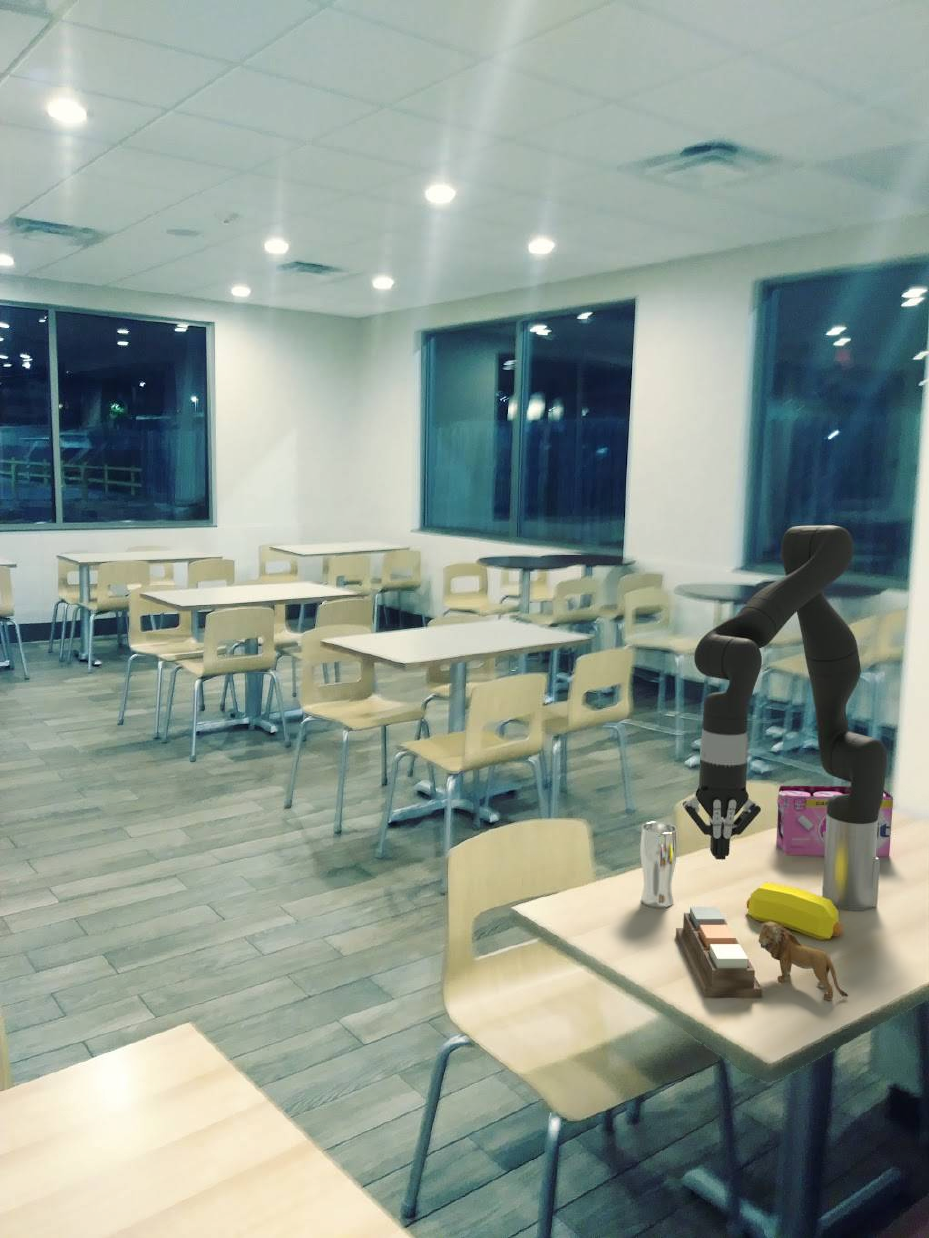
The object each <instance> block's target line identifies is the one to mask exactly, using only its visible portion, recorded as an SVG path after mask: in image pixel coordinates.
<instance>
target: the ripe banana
mask: <svg viewBox="0 0 929 1238" xmlns="http://www.w3.org/2000/svg"><path fill="white" fill-rule="evenodd" d="M746 908H747V914H748V915H749V916H750V917H751V918H753V919H754V920H756V921H758V920H759V921H758V922H761V923H767V922H774V923H778V924H779V925H781V926H782V927H784V928H787V929H790V930H792V931H796V932H798V933H801V934H803V935H806V936H809V937H812V938H815V939H816V940H817V939H818V940H821V941H824V940H829V939H831V938H832V937H839V936H841V933H842V932H843V926H842V924H841V923H840V922H839V920H840V919H839V910H838V909H837V907H835V906H834V904H833V903H832V902H831V900H829V899H826V898H824V897H822V895H821V896H820V895H818V894H815V893H812V892H809V891H807V890H804V889H801V888H798V887H793V886H789V885H782V884H778V883H777V884H776V883H773V882H768V881H766V882H765V883H763V884H762V885H761V886H760V887H758V888H756V889H755V890H753V892H751V893H750V897H749V898H748V899H747V901H746Z"/></svg>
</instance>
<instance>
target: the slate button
mask: <svg viewBox="0 0 929 1238" xmlns="http://www.w3.org/2000/svg"><path fill="white" fill-rule="evenodd" d="M689 913H690V919H691V921H692V923H693V925H694V927H695V928H700V925H724V919H725V918H724V916H723V914H722V912H721V911H720V910H719V907H718V906H690V907H689Z"/></svg>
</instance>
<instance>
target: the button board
mask: <svg viewBox="0 0 929 1238" xmlns="http://www.w3.org/2000/svg"><path fill="white" fill-rule="evenodd" d="M682 921H683V922H682V923H683V927H676V928H675V937H676V939H677V941H678V943H679V945H680V947H681V949H682V952H683V954H684V957H685V958H686V961H687V962H688V965H689V967H690V969H691V971H692V973H693V975H694V977H695V980H696V981H697V982H696V983H697V984H698V986H699V989H700V991H701V993H702V994H703V998H705V999H709V998H710V999H712V998H713V999H714V998H715V999H716V998H719V999H722V998H723V999H724V998H725V999H727V998H731V999H734V998H735V999H736V998H741V999H742V998H746V999H748V998H749V999H752V998H762V997H763V995H762V994H763V988H762V987H761V984H760V982H759V981H758V979H757V977H756V976H755V974H756V973H755V972H756V970H755V968H754V967H753V965H752V963H751V961H750V959H748V968H715V966H714V964H713V962H712V960H711V958H710V947H705V946H704V945H703V943H702V941H701V939H700V937H699V930H700V928H695V927H694V925H693V923H692V921H691V919H690V912H683V919H682ZM724 925H728V926H729V924H728V923H727V921H726V920H725V918H724ZM735 944H740V943H739V941H738V939H737V938H736V941H735Z"/></svg>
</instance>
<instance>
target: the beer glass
mask: <svg viewBox="0 0 929 1238" xmlns="http://www.w3.org/2000/svg"><path fill="white" fill-rule="evenodd" d="M640 835H641V836H640V845H639V847H640V848H639V849H640V851H639V852H640V853H639V855H640V862H641V868H642V875H643V889H642V894H641V902H642V903H643V904H644V905H646V906H648V907H651V908H655V909H656V908H657V909H662V908H663V909H664V908H668V907H671V906H672V905H673V904H674V897H673V890H672V888H673V884H672V883H673V876H674V872H675V868H676V863H677V857H678V834H677V826H675V825H674V824H672V823H669V822H664V821H649V822H645V823H643V824H642V826H641V834H640Z"/></svg>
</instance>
